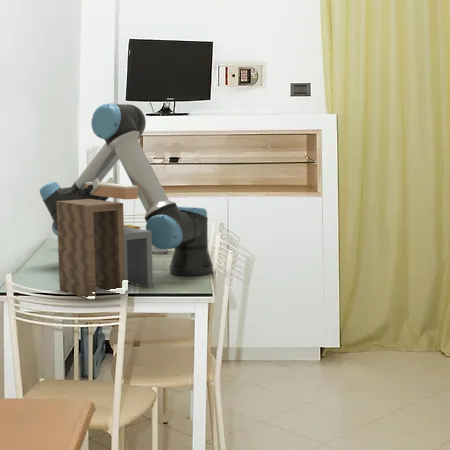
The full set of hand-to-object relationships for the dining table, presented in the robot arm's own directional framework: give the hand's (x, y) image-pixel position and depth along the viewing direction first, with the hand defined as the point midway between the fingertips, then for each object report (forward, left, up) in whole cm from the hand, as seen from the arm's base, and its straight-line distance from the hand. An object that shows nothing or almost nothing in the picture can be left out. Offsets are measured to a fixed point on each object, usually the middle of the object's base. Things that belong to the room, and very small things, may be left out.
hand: (105, 181), depth 249 cm
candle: (-7, -68, -33) cm, 76 cm away
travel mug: (-21, -55, -33) cm, 67 cm away
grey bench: (-5, +8, -33) cm, 34 cm away
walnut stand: (+5, +17, -33) cm, 38 cm away
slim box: (-2, +3, -5) cm, 6 cm away
